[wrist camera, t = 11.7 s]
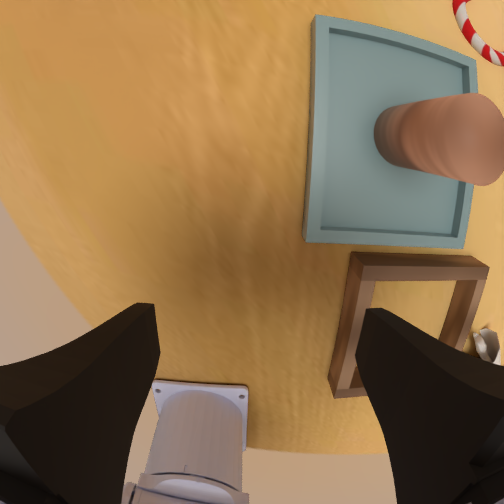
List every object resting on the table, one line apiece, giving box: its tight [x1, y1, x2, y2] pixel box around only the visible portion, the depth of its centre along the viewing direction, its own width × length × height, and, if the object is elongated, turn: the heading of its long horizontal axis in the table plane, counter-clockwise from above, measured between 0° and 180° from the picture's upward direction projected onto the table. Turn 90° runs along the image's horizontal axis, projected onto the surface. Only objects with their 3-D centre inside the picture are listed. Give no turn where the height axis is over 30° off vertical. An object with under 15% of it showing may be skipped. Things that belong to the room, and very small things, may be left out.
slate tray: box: [302, 15, 478, 249], centre depth 17 cm, size 14×12×2 cm
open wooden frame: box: [328, 252, 490, 399], centre depth 21 cm, size 11×11×2 cm
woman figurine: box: [473, 328, 501, 365], centre depth 24 cm, size 12×4×18 cm
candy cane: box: [453, 0, 504, 66], centre depth 13 cm, size 8×1×15 cm
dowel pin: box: [374, 93, 504, 186], centre depth 13 cm, size 4×4×8 cm
